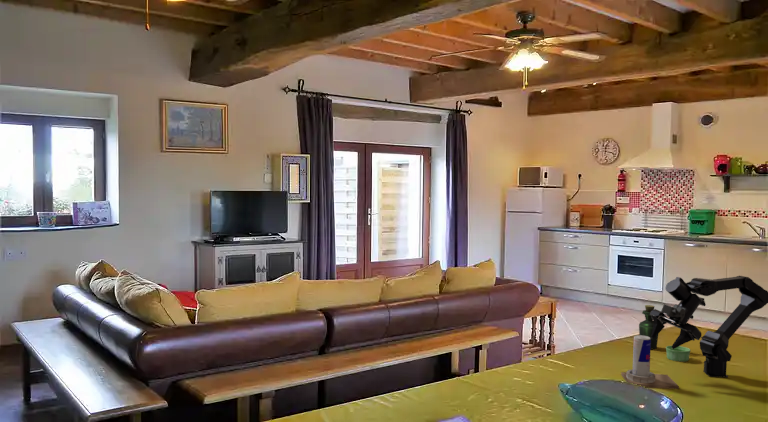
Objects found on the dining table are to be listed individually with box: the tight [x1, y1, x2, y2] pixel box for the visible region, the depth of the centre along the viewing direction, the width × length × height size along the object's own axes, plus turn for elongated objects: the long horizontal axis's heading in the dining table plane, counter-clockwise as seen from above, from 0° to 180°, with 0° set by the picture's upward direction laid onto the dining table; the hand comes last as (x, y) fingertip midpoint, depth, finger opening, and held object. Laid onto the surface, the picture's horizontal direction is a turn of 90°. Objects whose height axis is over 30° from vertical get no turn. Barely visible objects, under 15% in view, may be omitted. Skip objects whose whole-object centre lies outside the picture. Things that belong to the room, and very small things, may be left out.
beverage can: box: [632, 334, 652, 377], centre depth 223 cm, size 6×6×15 cm
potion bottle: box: [638, 304, 659, 350], centre depth 270 cm, size 8×8×18 cm
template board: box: [620, 368, 680, 390], centre depth 223 cm, size 16×13×3 cm
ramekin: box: [665, 345, 691, 363], centre depth 253 cm, size 9×9×4 cm
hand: (661, 343), depth 226 cm, fingers open, 9 cm apart
